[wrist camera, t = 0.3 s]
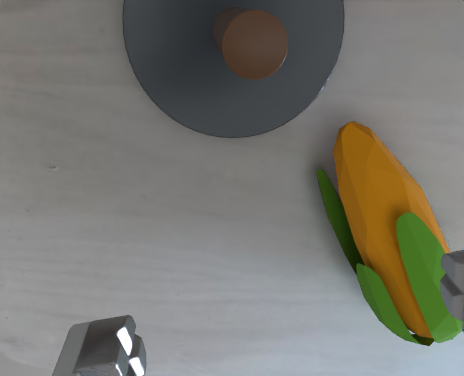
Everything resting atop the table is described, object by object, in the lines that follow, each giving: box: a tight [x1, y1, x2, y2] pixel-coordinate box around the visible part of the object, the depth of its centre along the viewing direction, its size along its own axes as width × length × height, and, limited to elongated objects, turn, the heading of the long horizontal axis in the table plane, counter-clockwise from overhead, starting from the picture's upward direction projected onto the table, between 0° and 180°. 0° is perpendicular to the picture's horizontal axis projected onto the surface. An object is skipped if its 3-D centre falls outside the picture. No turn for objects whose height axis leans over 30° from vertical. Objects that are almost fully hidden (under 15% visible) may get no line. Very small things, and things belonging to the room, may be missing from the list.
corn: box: [317, 121, 462, 346], centre depth 30 cm, size 7×8×20 cm
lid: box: [123, 0, 344, 138], centre depth 22 cm, size 14×14×10 cm
